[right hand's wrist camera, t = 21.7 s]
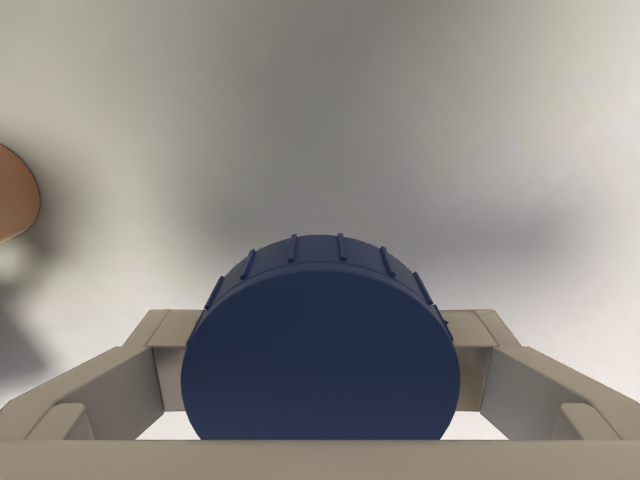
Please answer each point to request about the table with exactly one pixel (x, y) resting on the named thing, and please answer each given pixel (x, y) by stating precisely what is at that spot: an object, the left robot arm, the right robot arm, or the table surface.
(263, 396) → the lid
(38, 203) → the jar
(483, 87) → the table surface
